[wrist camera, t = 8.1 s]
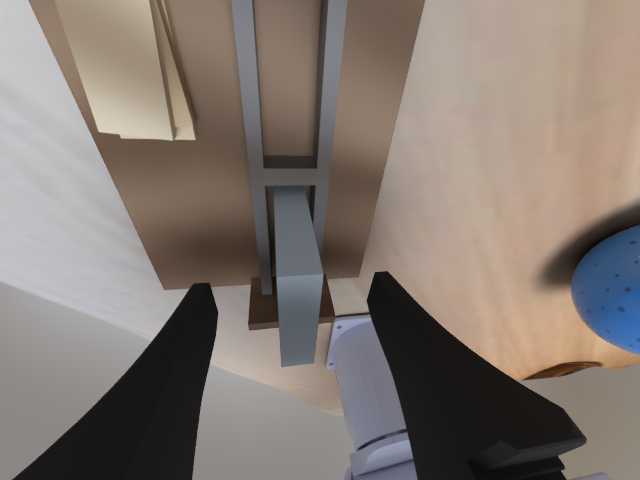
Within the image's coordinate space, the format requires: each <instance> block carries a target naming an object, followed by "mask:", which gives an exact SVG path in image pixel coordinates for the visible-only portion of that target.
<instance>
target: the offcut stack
mask: <svg viewBox="0 0 640 480" xmlns="http://www.w3.org/2000/svg"><path fill="white" fill-rule="evenodd" d="M55 3H56V6H57V9H58V12H59V15H60V18H61V21H62V24H63V27H64V30H65V33H66V36H67V39H68V42H69V45H70V48H71V51H72V54H73V57H74V60H75V63H76V66H77V69H78V72H79V75H80V78H81V81H82V84H83V87H84V90H85V93H86V96H87V99H88V102H89V105H90V108H91V111H92V114H93V116H94V119H95V122H96V125H97V128H98V131H99V132H102V133H111V134H119V135H120V137H121V138H123V139H162V140H171V141H173V140H196V139H197V137H198V134H197V129H196V124H195V123H196V120H195V117H194V113H193V110H192V106H191V102H190V97H189V92H188V88H187V83H186V79H185V74H184V69H183V65H182V60H181V56H180V51H179V47H178V42H177V37H176V33H175V28H174V24H173V19H172V15H171V10H170V5H169V1H168V0H55Z"/></svg>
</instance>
